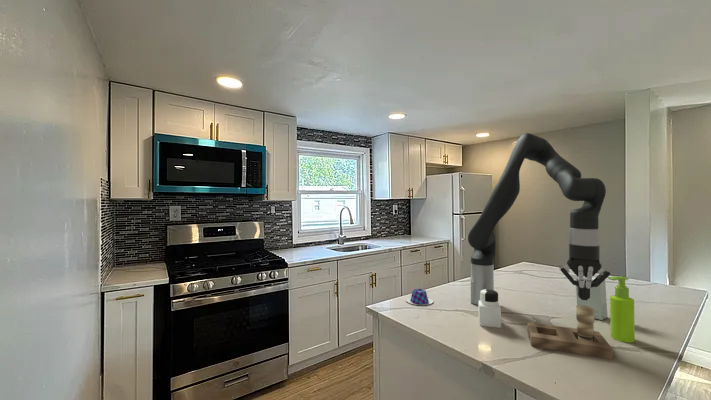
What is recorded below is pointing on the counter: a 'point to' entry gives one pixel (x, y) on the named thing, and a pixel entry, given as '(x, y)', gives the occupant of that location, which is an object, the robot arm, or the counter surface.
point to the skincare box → (596, 300)
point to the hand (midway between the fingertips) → (583, 299)
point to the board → (567, 340)
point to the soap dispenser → (622, 312)
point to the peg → (585, 322)
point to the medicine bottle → (489, 309)
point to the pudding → (419, 297)
